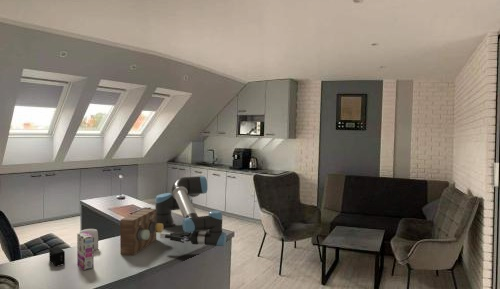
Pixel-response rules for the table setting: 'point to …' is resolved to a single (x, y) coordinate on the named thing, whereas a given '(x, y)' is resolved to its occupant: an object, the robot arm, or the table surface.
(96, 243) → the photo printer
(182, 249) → the table surface
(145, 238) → the sage button
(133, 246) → the console
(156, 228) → the ochre button
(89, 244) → the candy bar box
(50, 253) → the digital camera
